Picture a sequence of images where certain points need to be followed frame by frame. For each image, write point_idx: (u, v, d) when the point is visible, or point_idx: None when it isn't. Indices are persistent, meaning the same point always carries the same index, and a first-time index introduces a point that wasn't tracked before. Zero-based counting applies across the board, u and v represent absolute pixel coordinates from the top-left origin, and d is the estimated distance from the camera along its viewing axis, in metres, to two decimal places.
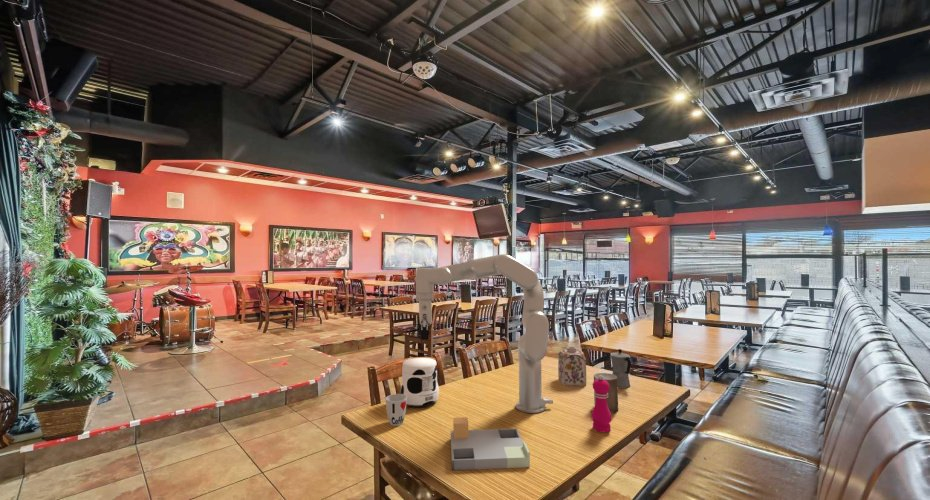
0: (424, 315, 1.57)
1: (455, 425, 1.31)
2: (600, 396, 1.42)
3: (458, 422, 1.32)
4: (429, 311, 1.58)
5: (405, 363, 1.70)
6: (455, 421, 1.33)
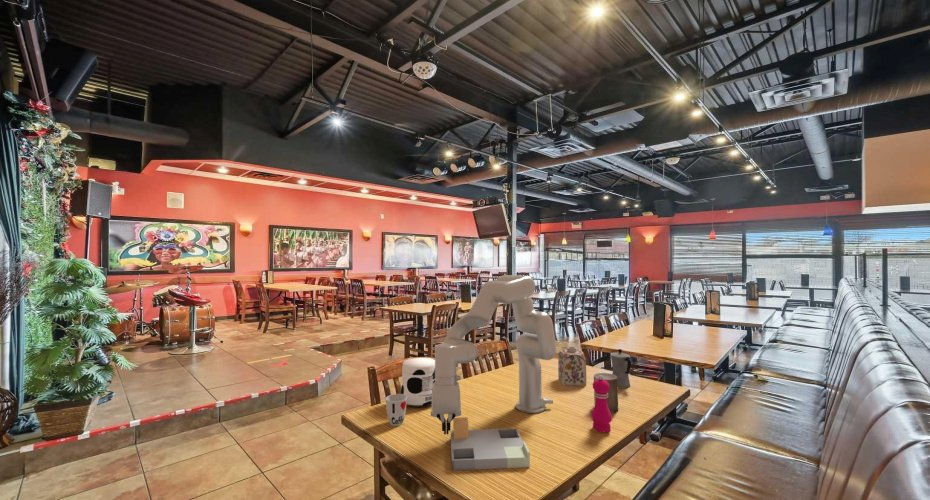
0: None
1: (455, 425, 1.31)
2: (600, 396, 1.42)
3: (458, 422, 1.32)
4: None
5: (405, 363, 1.70)
6: (455, 421, 1.33)
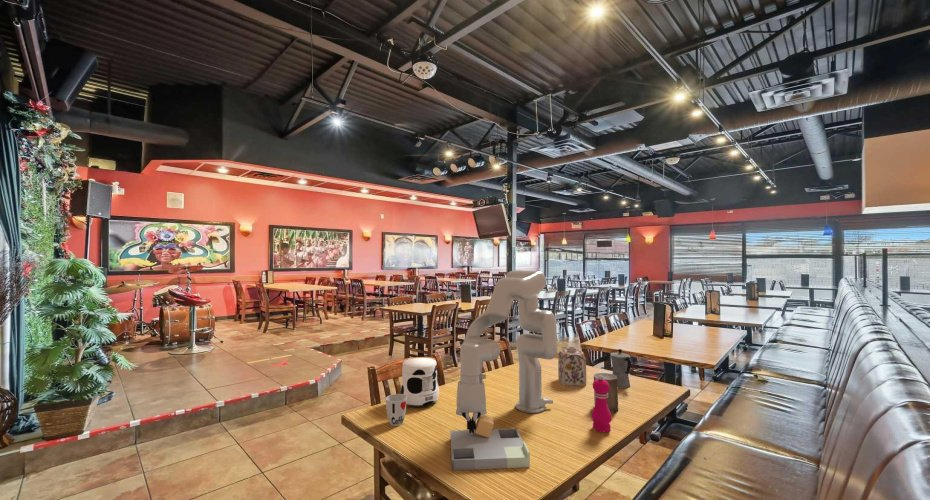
0: None
1: (481, 421, 1.31)
2: (600, 396, 1.42)
3: (484, 419, 1.32)
4: None
5: (405, 363, 1.70)
6: (481, 417, 1.33)
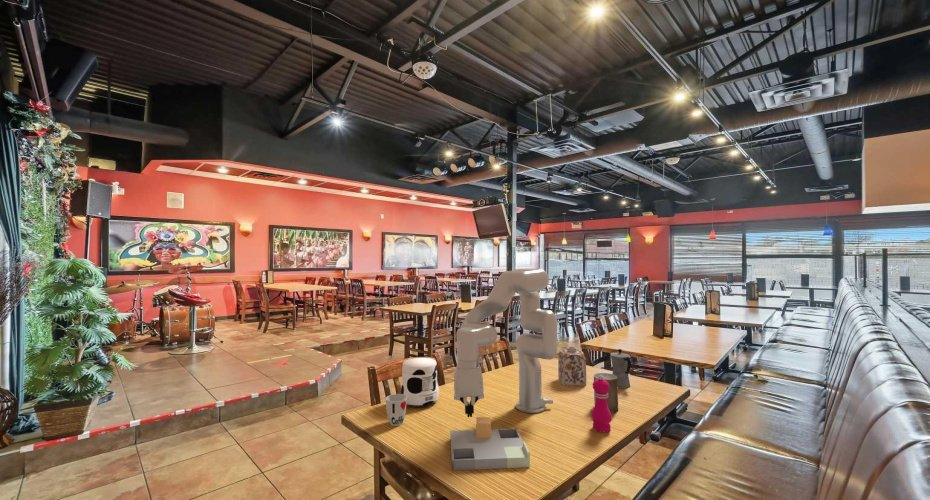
0: None
1: (478, 425, 1.31)
2: (600, 396, 1.42)
3: (481, 422, 1.32)
4: None
5: (405, 363, 1.70)
6: (478, 421, 1.33)
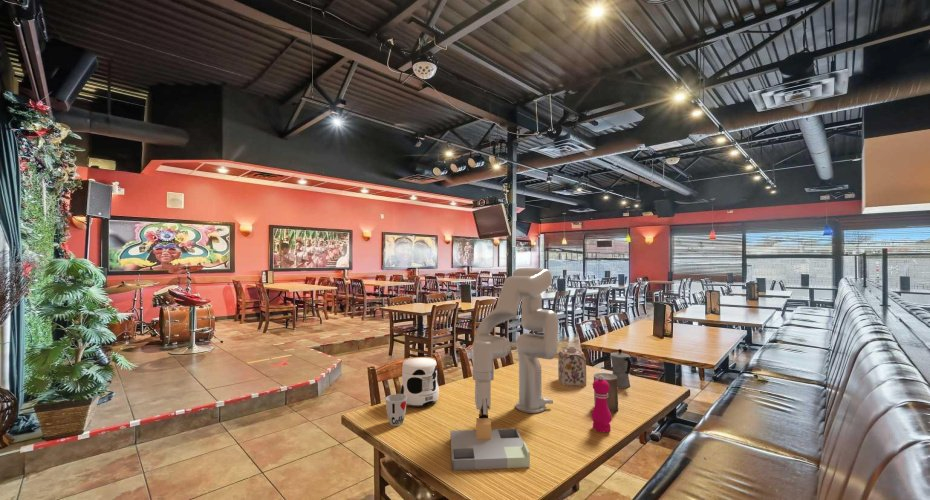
0: None
1: (478, 426, 1.30)
2: (600, 396, 1.42)
3: (481, 423, 1.31)
4: None
5: (405, 363, 1.70)
6: (478, 421, 1.32)
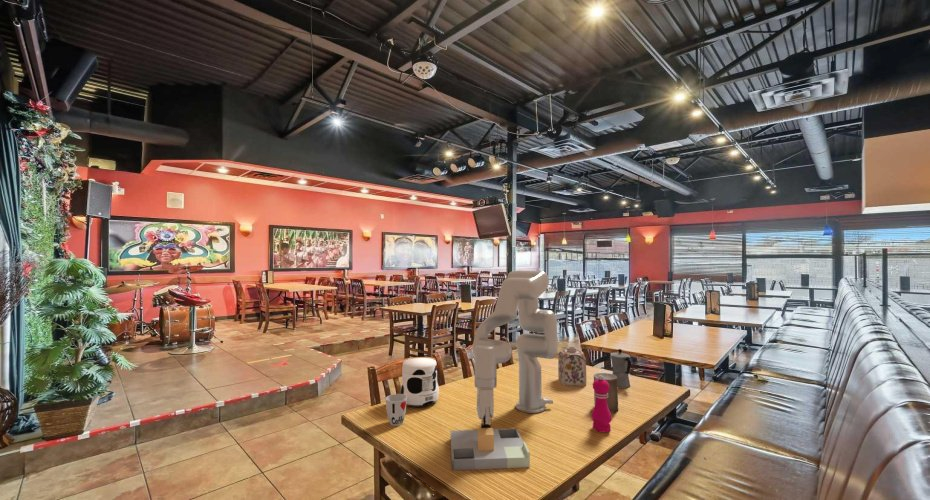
0: None
1: (479, 436, 1.23)
2: (600, 396, 1.42)
3: (483, 433, 1.24)
4: None
5: (405, 363, 1.70)
6: (479, 432, 1.24)
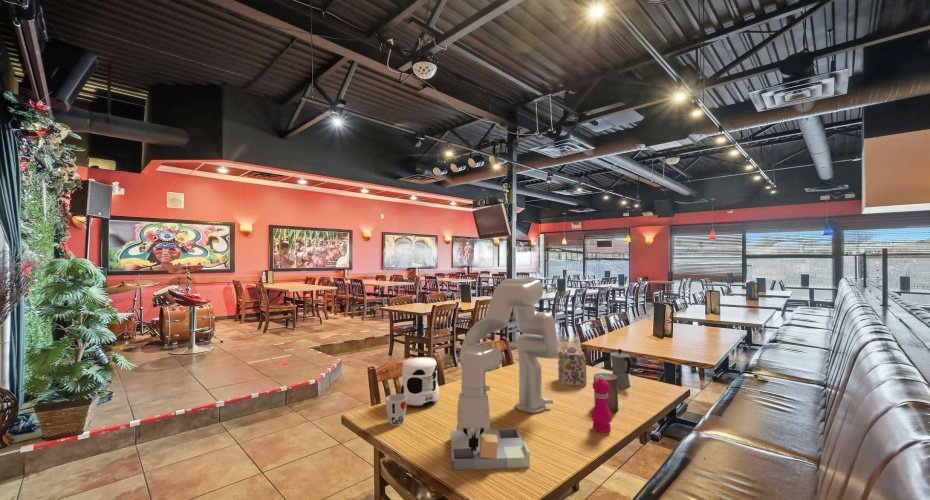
0: None
1: (483, 443, 1.18)
2: (600, 396, 1.42)
3: (486, 439, 1.19)
4: None
5: (405, 363, 1.70)
6: (483, 438, 1.19)
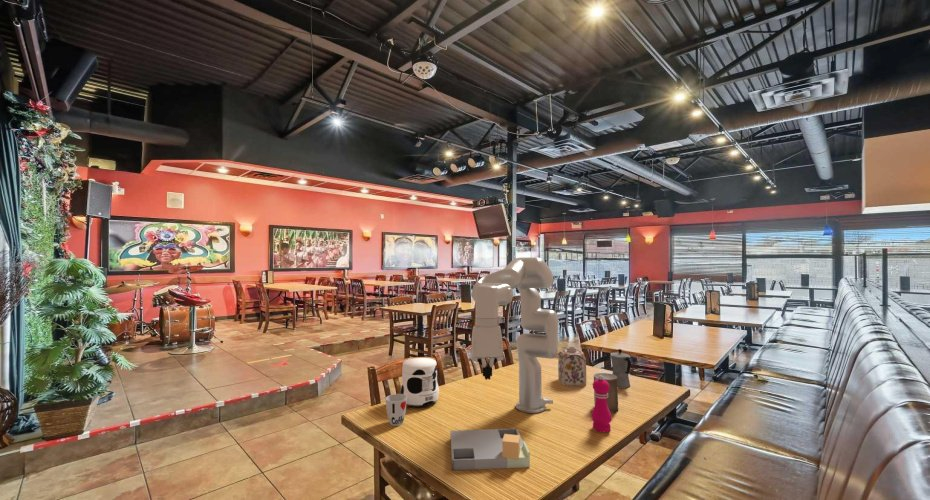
0: None
1: (504, 443, 1.18)
2: (600, 396, 1.42)
3: (508, 440, 1.19)
4: None
5: (405, 363, 1.70)
6: (505, 438, 1.20)
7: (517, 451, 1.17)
